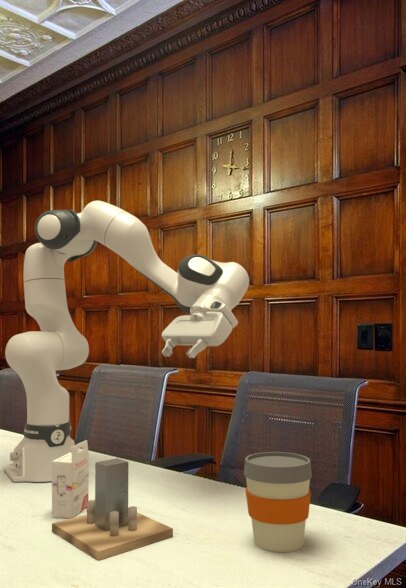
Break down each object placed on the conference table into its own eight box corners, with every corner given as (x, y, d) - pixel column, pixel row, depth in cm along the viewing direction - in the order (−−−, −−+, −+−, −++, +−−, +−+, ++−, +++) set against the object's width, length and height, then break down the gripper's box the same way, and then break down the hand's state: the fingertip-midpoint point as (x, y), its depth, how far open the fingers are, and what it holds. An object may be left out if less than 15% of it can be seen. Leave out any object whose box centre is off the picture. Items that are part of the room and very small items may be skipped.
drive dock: (51, 531, 105) (52, 502, 105) (121, 512, 115) (121, 486, 116) (98, 560, 91) (98, 527, 92) (172, 536, 102) (172, 506, 102)
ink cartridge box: (68, 504, 121) (69, 438, 122) (89, 506, 120) (89, 439, 121) (50, 517, 113) (51, 446, 114) (72, 519, 112) (73, 447, 113)
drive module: (94, 525, 104) (95, 462, 104) (117, 519, 107) (117, 458, 108) (105, 531, 101) (105, 466, 101) (128, 525, 104) (128, 461, 105)
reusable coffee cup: (326, 551, 95) (324, 464, 96) (260, 560, 91) (259, 470, 92) (294, 526, 107) (293, 449, 108) (234, 533, 103) (234, 454, 104)
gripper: (175, 306, 140) (143, 345, 133) (229, 303, 124) (197, 346, 117) (188, 323, 142) (158, 362, 135) (243, 322, 127) (212, 366, 120)
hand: (176, 355), depth 126 cm, fingers open, 8 cm apart
